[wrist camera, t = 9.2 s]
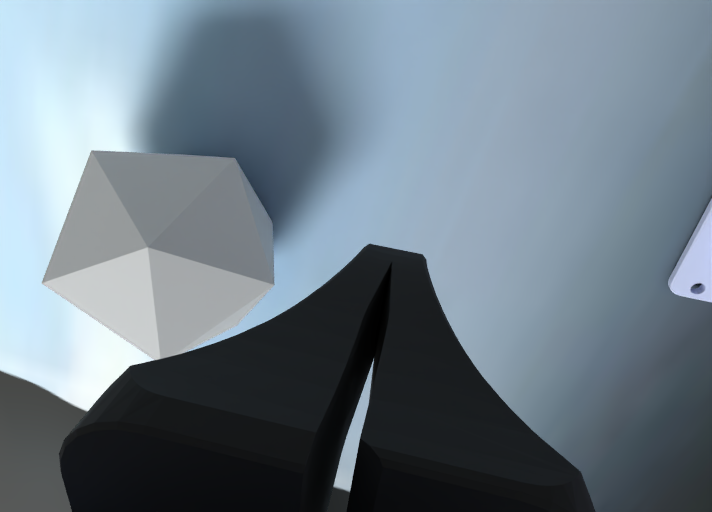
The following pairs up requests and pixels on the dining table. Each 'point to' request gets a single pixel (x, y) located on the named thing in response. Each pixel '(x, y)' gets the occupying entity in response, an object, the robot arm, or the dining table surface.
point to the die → (163, 248)
